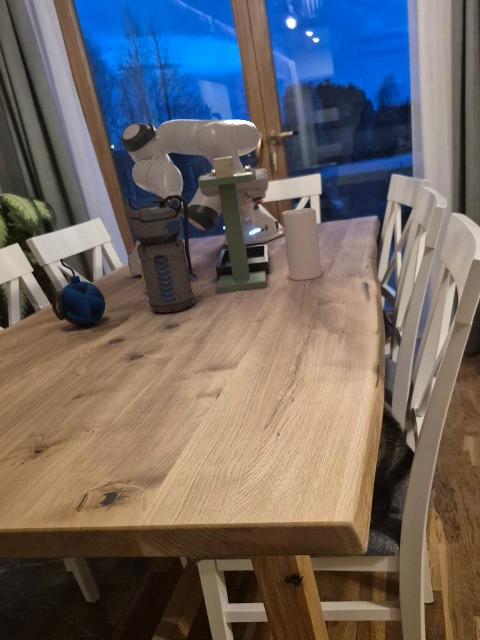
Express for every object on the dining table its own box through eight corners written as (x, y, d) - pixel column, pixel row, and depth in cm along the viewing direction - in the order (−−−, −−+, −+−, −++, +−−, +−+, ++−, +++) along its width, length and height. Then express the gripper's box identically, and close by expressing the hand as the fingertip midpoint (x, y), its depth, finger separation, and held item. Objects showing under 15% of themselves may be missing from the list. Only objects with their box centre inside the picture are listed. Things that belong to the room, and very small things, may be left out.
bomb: (54, 328, 130) (34, 261, 123) (101, 315, 135) (84, 250, 129) (67, 336, 122) (46, 266, 116) (116, 322, 128) (99, 254, 122)
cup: (284, 280, 147) (276, 214, 140) (297, 272, 153) (289, 209, 147) (315, 279, 143) (308, 212, 137) (326, 271, 150) (320, 207, 143)
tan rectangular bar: (222, 172, 152) (219, 156, 150) (237, 170, 152) (234, 154, 150) (215, 178, 132) (212, 159, 130) (233, 176, 132) (230, 157, 130)
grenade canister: (205, 309, 130) (183, 192, 119) (146, 317, 129) (119, 200, 118) (205, 297, 139) (185, 188, 129) (150, 306, 138) (125, 196, 128)
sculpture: (145, 283, 186) (177, 264, 186) (138, 286, 169) (173, 265, 169) (125, 252, 183) (158, 233, 183) (116, 252, 166) (152, 231, 166)
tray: (223, 260, 179) (221, 250, 177) (268, 255, 179) (267, 244, 177) (217, 280, 155) (215, 268, 154) (269, 273, 155) (267, 261, 154)
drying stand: (220, 281, 153) (203, 177, 142) (265, 276, 153) (251, 171, 142) (217, 293, 142) (198, 181, 131) (266, 287, 142) (250, 174, 131)
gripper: (201, 185, 175) (192, 163, 161) (268, 177, 175) (265, 154, 162) (203, 205, 175) (194, 184, 161) (270, 197, 175) (267, 176, 161)
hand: (230, 169), depth 161 cm, fingers open, 8 cm apart
